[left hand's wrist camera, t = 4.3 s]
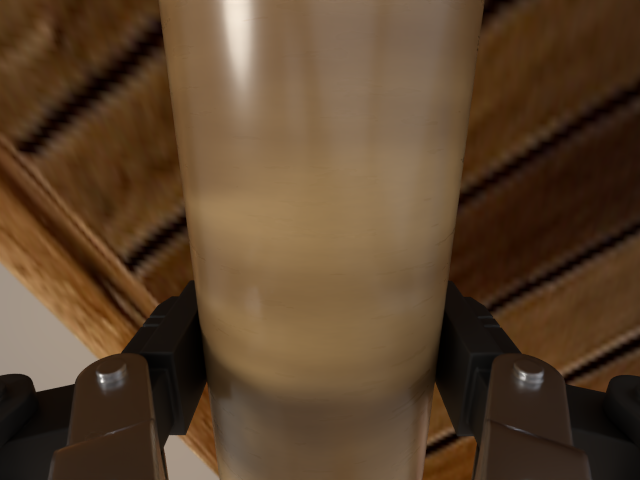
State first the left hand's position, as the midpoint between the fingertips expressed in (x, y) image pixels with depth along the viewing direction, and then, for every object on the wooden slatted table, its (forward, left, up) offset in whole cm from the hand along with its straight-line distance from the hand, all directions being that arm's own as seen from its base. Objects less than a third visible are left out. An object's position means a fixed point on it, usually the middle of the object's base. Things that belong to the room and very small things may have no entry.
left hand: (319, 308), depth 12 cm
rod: (-7, +4, -2) cm, 8 cm away
